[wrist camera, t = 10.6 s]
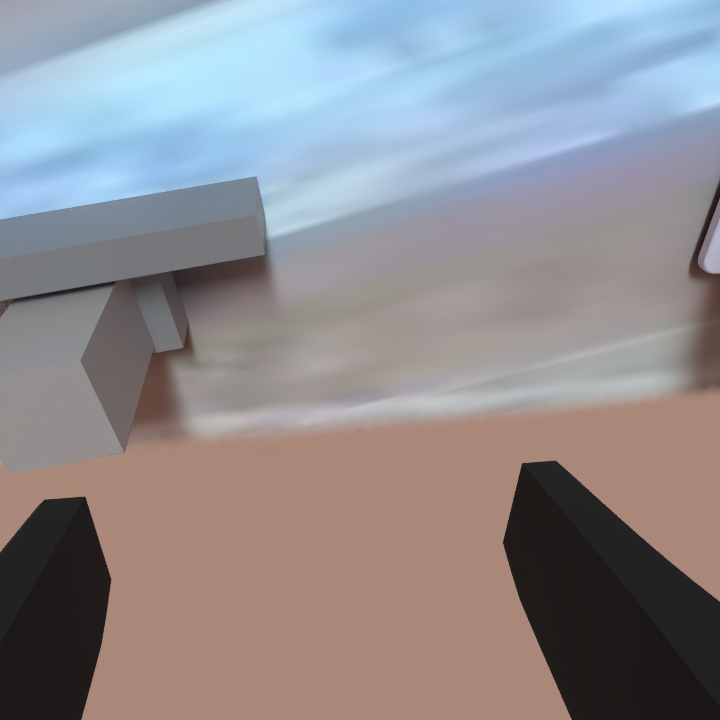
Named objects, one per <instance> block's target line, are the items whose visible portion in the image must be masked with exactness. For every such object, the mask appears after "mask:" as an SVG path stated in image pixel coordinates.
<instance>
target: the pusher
mask: <svg viewBox="0 0 720 720" xmlns="http://www.w3.org/2000/svg"><path fill="white" fill-rule="evenodd" d="M260 255H265V224H264V208H263V204H262V199H261V195H260V190H259V186H258V182H257V177H250V178H244V179H238V180H232V181H227V182H221V183H215V184H209V185H203V186H197V187H191V188H185V189H179V190H173V191H167V192H161V193H155V194H149V195H144V196H138V197H132V198H126V199H120V200H114V201H108V202H102V203H96V204H90V205H84V206H78V207H72V208H67V209H61V210H55V211H49V212H43V213H37V214H31V215H25V216H19V217H13V218H7V219H1V220H0V301H3V300H4V301H5V303H6V305H7V307H8V308H7V309H6V311H5V312H4V313H3V315H2V316H1V317H0V460H1V461H2V463H3V464H4V466H5V467H6V469H7V471H8V472H9V474H15V473H21V472H26V471H31V470H37V469H42V468H47V467H53V466H58V465H63V464H69V463H74V462H79V461H85V460H89V459H95V458H101V457H105V456H111V455H116V454H122V453H124V452H125V449H126V445H127V442H128V438H129V434H130V431H131V427H132V424H133V420H134V417H135V413H136V409H137V406H138V402H139V399H140V395H141V391H142V388H143V384H144V381H145V377H146V374H147V370H148V366H149V363H150V359H151V356H152V353H158V352H163V351H169V350H174V349H180V348H183V347H184V342H185V337H186V332H187V327H188V319H187V316H186V313H185V310H184V307H183V304H182V301H181V298H180V295H179V292H178V289H177V286H176V283H175V281H174V278H173V275H172V272H171V271H174V270H180V269H186V268H192V267H197V266H203V265H209V264H215V263H220V262H226V261H232V260H237V259H243V258H249V257H255V256H260Z"/></svg>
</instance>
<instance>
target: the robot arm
mask: <svg viewBox="0 0 720 720" xmlns="http://www.w3.org/2000/svg"><path fill="white" fill-rule="evenodd" d="M698 265H699V267H701V268H702V269H703V270H705V271H706V272H707V273H711V274H720V199H719V202H718V205H717V207H716V210H715V213H714V215H713V218H712V221H711V224H710V226H709V229H708V232H707V234H706V237H705V240H704V243H703V245H702V248H701V251H700V253H699V256H698ZM503 544H504V548H505V551H506V555H507V559H508V562H509V566H510V569H511V573H512V576H513V579H514V582H515V585H516V588H517V592H518V595H519V598H520V601H521V603H522V606H523V608H524V610H525V613H526V615H527V617H528V620H529V622H530V625H531V626H532V629H533V632H534V634H535V636H536V638H537V641H538V643H539V646H540V648H541V650H542V652H543V655H544V657H545V659H546V661H547V664H548V666H549V668H550V671H551V673H552V675H553V677H554V680H555V682H556V684H557V687H558V689H559V691H560V694H561V696H562V698H563V701H564V703H565V705H566V707H567V710H568V712H569V714H570V717H571V719H572V720H720V602H719V601H718V600H717V599H716V598H714V597H713V596H712V595H710V594H709V593H708V592H707V591H705V590H704V589H703V588H702V587H700V586H699V585H698V584H696V583H695V582H694V581H693V580H691V579H690V578H689V577H688V576H687V575H685V574H684V573H683V572H682V571H680V570H679V569H678V568H677V567H676V566H674V565H673V564H672V563H671V562H670V561H668V560H667V559H666V558H665V557H664V556H662V555H661V554H660V553H659V552H658V551H656V550H655V549H654V548H653V547H652V546H650V545H649V544H648V543H647V542H646V541H645V540H644V539H642V538H641V537H640V536H639V535H638V534H637V533H636V532H635V531H633V530H632V529H631V528H630V527H629V526H628V525H627V524H625V523H624V522H623V521H622V520H621V519H620V518H619V517H617V515H615V514H614V513H613V512H612V511H611V510H610V509H609V508H608V507H607V506H605V505H604V504H603V503H602V502H601V501H600V500H599V499H598V498H597V497H596V496H594V495H593V494H592V493H591V492H590V491H589V490H588V489H587V488H586V487H584V486H583V485H582V484H581V483H580V482H579V481H578V480H577V479H576V478H574V477H573V476H572V475H571V474H570V473H569V472H568V471H567V470H566V469H565V468H563V467H562V466H561V465H560V464H559V463H558V462H557V461H546V462H533V463H522V466H521V470H520V475H519V479H518V483H517V487H516V491H515V495H514V499H513V504H512V508H511V512H510V516H509V520H508V524H507V528H506V532H505V537H504V541H503ZM110 584H111V577H110V574H109V571H108V568H107V564H106V561H105V558H104V555H103V552H102V549H101V545H100V542H99V539H98V536H97V532H96V529H95V527H94V523H93V520H92V517H91V514H90V510H89V507H88V504H87V501H86V498H85V497H75V498H62V499H49V500H44V501H43V502H42V503H41V504H40V505H39V506H38V507H37V508H36V509H35V511H34V512H33V513H32V514H31V516H30V517H29V518H28V519H27V520H26V521H25V523H24V524H23V525H22V526H21V528H20V529H19V530H18V531H17V532H16V534H15V535H14V536H13V537H12V539H11V540H10V541H9V542H8V543H7V545H6V546H5V547H4V548H3V550H2V551H1V552H0V720H81V718H82V714H83V711H84V708H85V704H86V700H87V697H88V693H89V689H90V686H91V682H92V678H93V674H94V671H95V667H96V663H97V659H98V656H99V652H100V648H101V643H102V638H103V632H104V626H105V620H106V613H107V606H108V599H109V592H110Z"/></svg>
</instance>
